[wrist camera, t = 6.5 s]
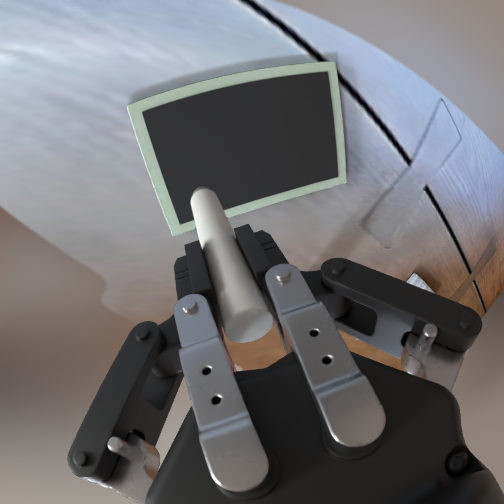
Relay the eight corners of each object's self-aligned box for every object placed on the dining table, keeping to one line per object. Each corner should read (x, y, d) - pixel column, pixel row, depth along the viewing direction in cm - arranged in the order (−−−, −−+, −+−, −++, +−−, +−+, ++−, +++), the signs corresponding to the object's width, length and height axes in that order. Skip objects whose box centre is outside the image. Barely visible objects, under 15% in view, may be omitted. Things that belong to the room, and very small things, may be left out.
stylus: (186, 188, 19) (218, 318, 9) (211, 180, 19) (270, 300, 9) (193, 211, 20) (231, 348, 10) (218, 202, 20) (277, 332, 10)
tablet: (127, 105, 24) (126, 105, 23) (331, 61, 27) (336, 61, 26) (172, 232, 34) (172, 237, 33) (343, 180, 36) (347, 183, 36)
